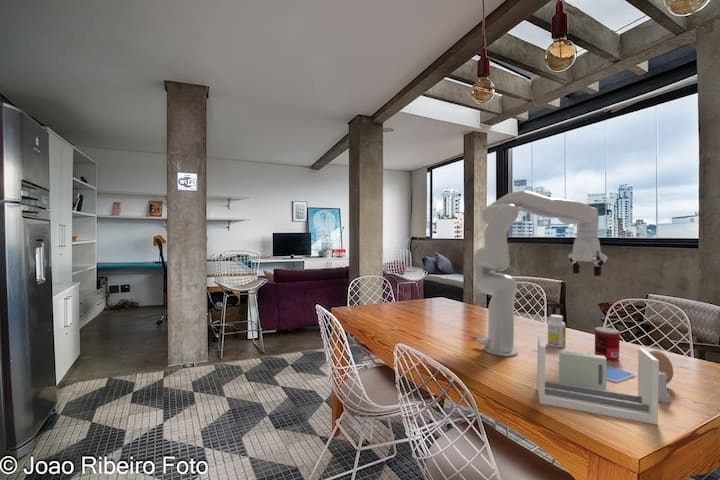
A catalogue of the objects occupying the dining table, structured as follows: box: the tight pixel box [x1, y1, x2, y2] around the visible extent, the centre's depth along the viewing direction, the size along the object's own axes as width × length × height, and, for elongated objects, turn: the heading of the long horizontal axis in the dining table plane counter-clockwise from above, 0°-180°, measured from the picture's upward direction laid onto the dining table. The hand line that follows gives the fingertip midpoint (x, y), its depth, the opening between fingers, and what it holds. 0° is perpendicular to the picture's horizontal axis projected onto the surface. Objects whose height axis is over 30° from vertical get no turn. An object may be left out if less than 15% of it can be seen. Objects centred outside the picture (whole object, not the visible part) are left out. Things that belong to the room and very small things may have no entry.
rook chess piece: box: [658, 371, 672, 404], centre depth 97 cm, size 4×4×8 cm
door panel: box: [558, 349, 608, 391], centre depth 105 cm, size 12×3×10 cm, turn 66°
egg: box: [648, 350, 674, 385], centre depth 107 cm, size 8×8×11 cm
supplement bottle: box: [547, 314, 567, 348], centre depth 146 cm, size 7×7×13 cm
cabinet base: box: [536, 336, 659, 425], centre depth 93 cm, size 26×10×16 cm, turn 66°
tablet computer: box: [606, 365, 636, 384], centre depth 119 cm, size 19×13×1 cm, turn 27°
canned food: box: [594, 326, 621, 362], centre depth 131 cm, size 8×8×11 cm
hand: (586, 274), depth 148 cm, fingers open, 9 cm apart
